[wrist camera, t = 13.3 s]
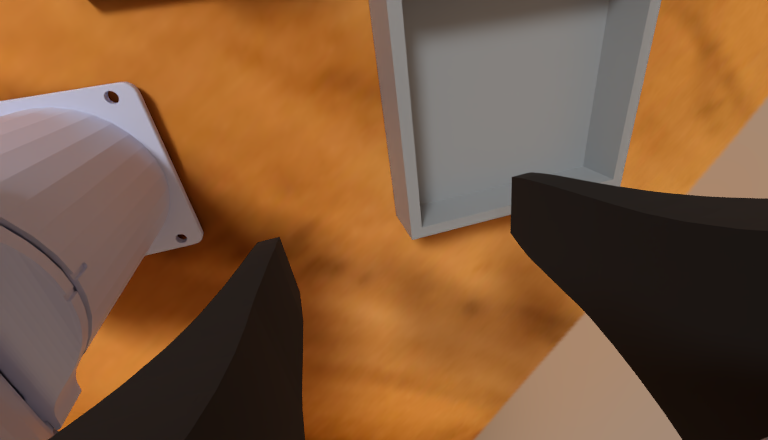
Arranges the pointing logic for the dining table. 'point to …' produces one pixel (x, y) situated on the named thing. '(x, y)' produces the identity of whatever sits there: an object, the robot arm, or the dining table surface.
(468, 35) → the tray
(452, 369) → the dining table surface
